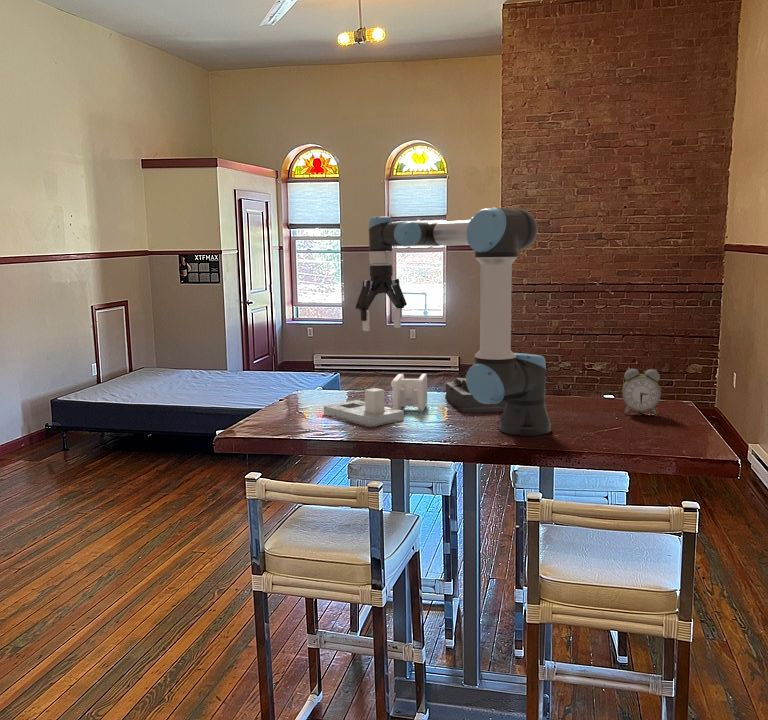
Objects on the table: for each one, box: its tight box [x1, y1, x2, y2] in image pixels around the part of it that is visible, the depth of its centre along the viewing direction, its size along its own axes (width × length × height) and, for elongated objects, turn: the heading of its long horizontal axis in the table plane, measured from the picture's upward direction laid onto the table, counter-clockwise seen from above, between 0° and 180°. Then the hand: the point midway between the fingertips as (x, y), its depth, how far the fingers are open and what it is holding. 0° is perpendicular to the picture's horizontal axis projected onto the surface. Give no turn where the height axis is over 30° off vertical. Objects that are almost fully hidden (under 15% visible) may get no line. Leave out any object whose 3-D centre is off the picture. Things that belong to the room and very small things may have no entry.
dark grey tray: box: [444, 377, 505, 414], centre depth 255 cm, size 23×27×10 cm
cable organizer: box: [390, 373, 428, 413], centre depth 248 cm, size 15×11×12 cm
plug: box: [364, 387, 386, 414], centre depth 233 cm, size 6×4×10 cm
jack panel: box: [323, 399, 405, 428], centre depth 238 cm, size 24×14×3 cm, turn 41°
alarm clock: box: [621, 368, 662, 417], centre depth 235 cm, size 12×7×15 cm, turn 72°
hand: (381, 329), depth 242 cm, fingers open, 13 cm apart
